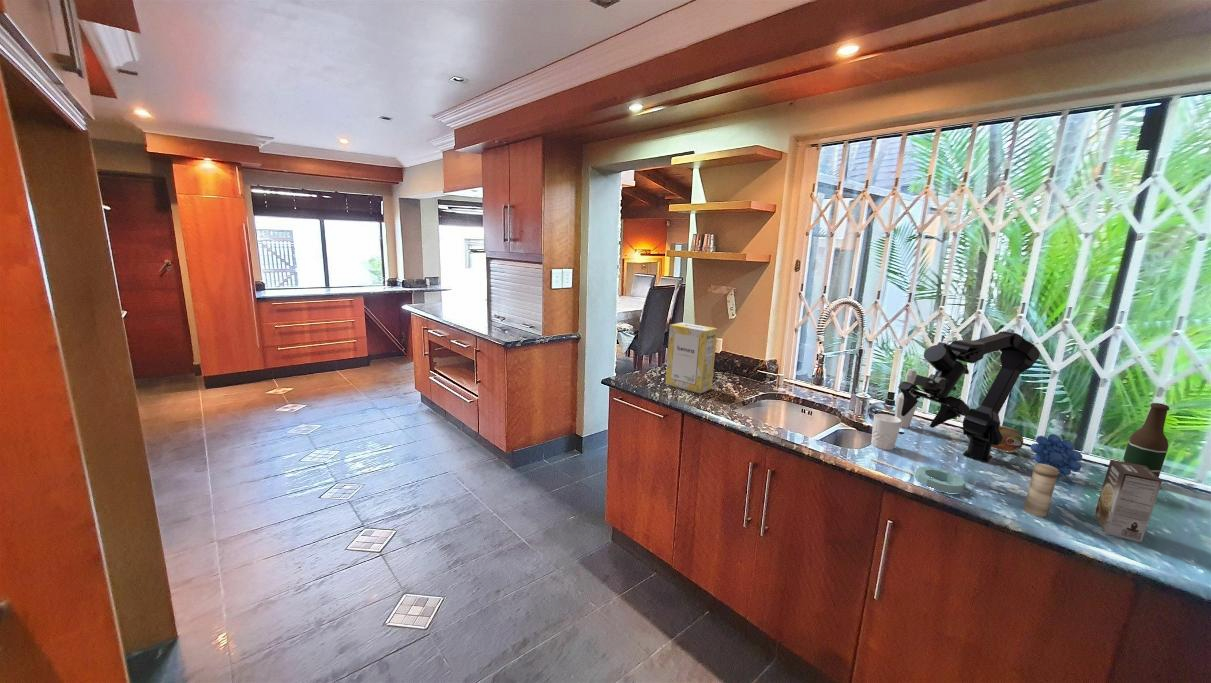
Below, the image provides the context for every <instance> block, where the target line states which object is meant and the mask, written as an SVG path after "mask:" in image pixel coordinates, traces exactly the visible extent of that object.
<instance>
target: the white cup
mask: <svg viewBox="0 0 1211 683" xmlns="http://www.w3.org/2000/svg"><path fill="white" fill-rule="evenodd" d="M872 420H873V421H872V428H871V429H872V430H871V441H870V443H871V445H872V446H873V447H875V448H877V449H880V450H885V451H893V450H894V449H895V446H896V443H897V439H898V438H899V437H898V436H899V433H900V432H899V431H900V428H901V427H900V425H901V419H899V418H897V417H895V415H892V414H886V413H875V414H874V415H873V419H872Z"/></svg>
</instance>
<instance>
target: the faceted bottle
mask: <svg viewBox="0 0 1211 683" xmlns="http://www.w3.org/2000/svg"><path fill="white" fill-rule="evenodd" d="M916 375H918V374H917V369H913V368H909V369H907V371H906V373H905V380H904V381H905V382H909V383H912V384H913V383H914V381H915V378H916ZM895 400H896V401H895V404H894V416H895V417H897V418H899V419H901V425H900V428H901V427H903V429H909V428H910V427H911V426H910V425H911V423H912V419H913V418H914V414H915V412H916V408H917V403H916V404H915V406H914V407H913V408H912V409H911V410H910V411H909V412H908V413H907V414H906V415H905V416H902V415H901V412H902V407H903V402H904V396H903V393H902V392H901V391H900V392H899V394H897V395H896V398H895Z"/></svg>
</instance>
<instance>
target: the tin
mask: <svg viewBox="0 0 1211 683" xmlns="http://www.w3.org/2000/svg"><path fill="white" fill-rule="evenodd" d="M998 429H999V431H1000V433H1001V435H1002V436H1003V439H1002V442H1001V443H1000V444H999V445H992V447H994V448H997V449H1001V450H1004V451H1008V452H1011V453H1017V452H1018V451H1020V450H1021V449H1022V447H1023V445H1024V438H1023V435H1022V434H1021V432H1019V430H1017V429H1016V428H1012V427H1009V426H1005V425H1001V424H1000V426H999V428H998ZM966 437H967V439H968V441H969V440H970V436H968V435H966ZM1011 453H1010V454H1011Z"/></svg>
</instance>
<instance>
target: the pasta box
mask: <svg viewBox="0 0 1211 683" xmlns="http://www.w3.org/2000/svg"><path fill="white" fill-rule="evenodd" d="M668 331H669V332H668V342H667V345H668V346H667V355H666V357H667V358H666V359H667V360H666V370H665V385H667V386H671V387H673V388H678V389H681V390H686V391H689V392H692V393H696V394H700V395H701V394H702V393H705V392H707V391H709V390H712V388H713V387H712V386H713V379H714V377H713V376H714V367H715V359H716V358H715V356H716V349H717V348H716V347H717V337H718V328H717V327H712V326H705V325H699V324H693V323H687V322H677V323H672V324H669V330H668Z"/></svg>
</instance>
